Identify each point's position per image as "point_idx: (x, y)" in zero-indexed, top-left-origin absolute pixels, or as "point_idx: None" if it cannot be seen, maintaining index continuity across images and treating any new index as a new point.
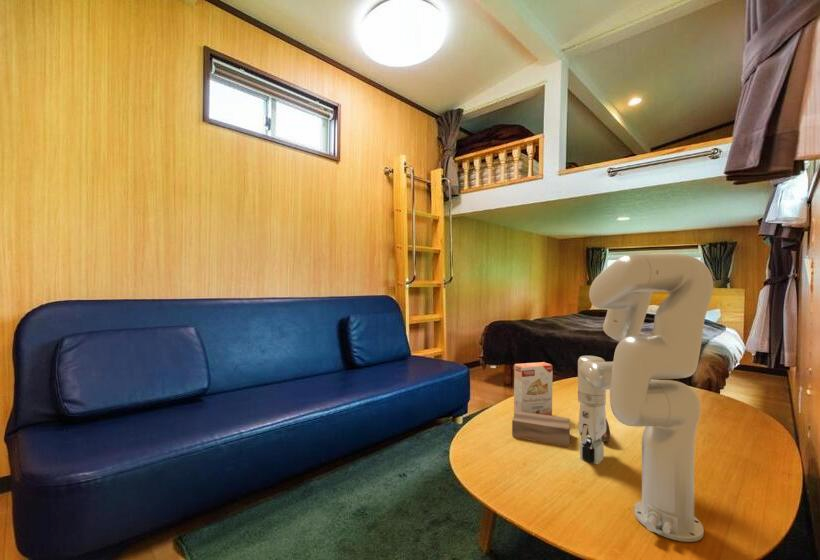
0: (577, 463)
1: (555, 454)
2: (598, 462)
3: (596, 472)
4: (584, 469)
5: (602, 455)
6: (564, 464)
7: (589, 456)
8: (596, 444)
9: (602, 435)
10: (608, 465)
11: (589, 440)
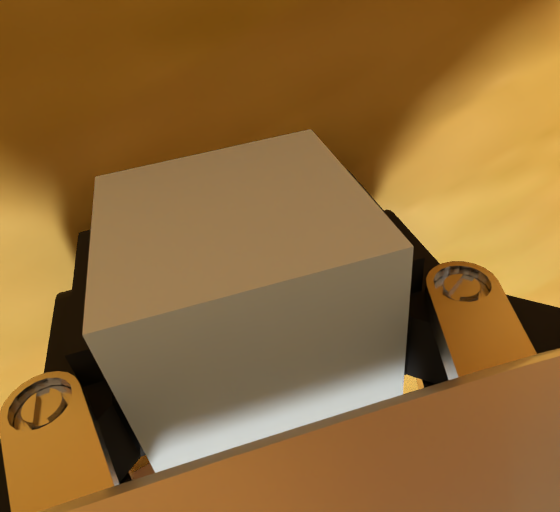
0: (436, 241)
1: (405, 387)
2: (293, 140)
3: (504, 34)
4: (510, 144)
5: (142, 192)
6: (517, 275)
7: (403, 227)
8: (309, 320)
9: (246, 454)
10: (225, 33)
11: (250, 430)
